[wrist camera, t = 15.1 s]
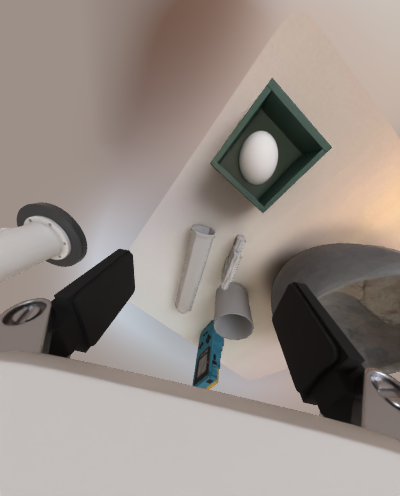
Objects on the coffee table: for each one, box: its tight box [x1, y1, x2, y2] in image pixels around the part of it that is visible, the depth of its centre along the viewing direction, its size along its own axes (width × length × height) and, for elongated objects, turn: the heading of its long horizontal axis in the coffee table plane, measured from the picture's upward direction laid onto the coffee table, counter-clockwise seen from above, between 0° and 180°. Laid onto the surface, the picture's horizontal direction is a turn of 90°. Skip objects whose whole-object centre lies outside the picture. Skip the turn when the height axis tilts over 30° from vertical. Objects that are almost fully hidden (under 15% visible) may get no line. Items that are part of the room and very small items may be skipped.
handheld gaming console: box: [193, 321, 224, 390], centre depth 42 cm, size 10×4×15 cm, turn 152°
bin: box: [210, 78, 332, 213], centre depth 25 cm, size 12×12×6 cm
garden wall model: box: [221, 235, 246, 290], centre depth 34 cm, size 12×2×6 cm, turn 165°
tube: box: [175, 225, 216, 314], centre depth 38 cm, size 5×5×25 cm
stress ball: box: [239, 131, 279, 185], centre depth 25 cm, size 8×8×7 cm
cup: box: [214, 283, 254, 340], centre depth 37 cm, size 8×8×10 cm
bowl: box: [271, 243, 400, 374], centre depth 29 cm, size 24×24×15 cm
